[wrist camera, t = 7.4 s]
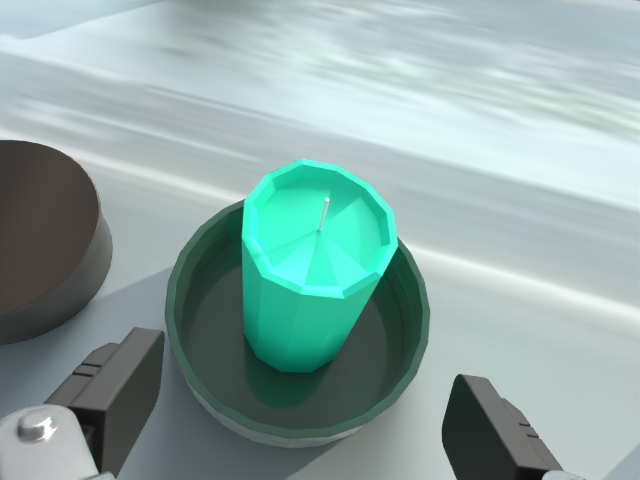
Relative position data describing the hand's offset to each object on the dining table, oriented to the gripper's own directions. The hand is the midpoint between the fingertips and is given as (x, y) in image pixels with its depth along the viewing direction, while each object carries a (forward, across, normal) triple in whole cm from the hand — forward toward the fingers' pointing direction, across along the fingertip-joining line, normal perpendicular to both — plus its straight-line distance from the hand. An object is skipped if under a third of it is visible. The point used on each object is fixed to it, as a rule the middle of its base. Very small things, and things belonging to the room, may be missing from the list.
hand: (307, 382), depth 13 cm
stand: (+14, +16, +3) cm, 22 cm away
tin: (+13, 0, +4) cm, 14 cm away
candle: (+13, 0, +4) cm, 14 cm away
